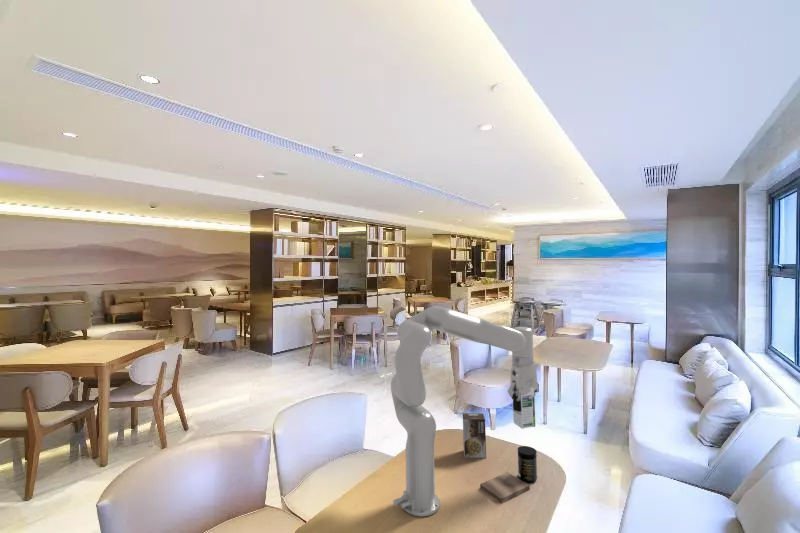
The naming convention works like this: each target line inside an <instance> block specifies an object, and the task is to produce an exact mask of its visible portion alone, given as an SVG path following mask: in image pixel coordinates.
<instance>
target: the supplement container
mask: <svg viewBox="0 0 800 533" xmlns="http://www.w3.org/2000/svg"><path fill="white" fill-rule="evenodd" d="M537 460H538V454H537V450H536V449H535V448H534V447H531V446H527V445H521V446H519V447H517V476H518V477H517V478H518V479H520V480H522V481H523V482H525V483H527V484H533V483H536V482H537V480H538V463H537V462H538V461H537Z"/></svg>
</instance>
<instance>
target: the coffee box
mask: <svg viewBox="0 0 800 533" xmlns="http://www.w3.org/2000/svg"><path fill="white" fill-rule="evenodd" d="M486 435H487V434H486V418H485V415H484V413H480V412H479V413H473V412H470V413H468V412H467V413H466V412H464V413H462V436H463V439H462V440H463V442H462V444H463V445H462V446H463V456H464V458H470V459H471V458H472V459H480V458H481V459H486V458H487V442H486V441H487V440H486V439H487V438H486V437H487V436H486Z"/></svg>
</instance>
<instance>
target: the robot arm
mask: <svg viewBox="0 0 800 533" xmlns="http://www.w3.org/2000/svg"><path fill="white" fill-rule="evenodd" d="M434 330H435V331H438V332H441V333H444V334H447V335H451V336H454V337H456V338H457V337H458V338H462V339H464V340H468V341H471V342H474V343H479V344H485V345H489V346H492V347H495V348H499V349H503V350H506V351H509V352H511V359H512V360H511V362H512V364H511V369H510V385H509V388H508V389H507V393H508V395H509V396H510V397H511V400H512V410H513V409H514V410H516V411H518V412H521V401H520V397H521V396H520V394H525V393H528V392H530V389H531V388H532V387H534V397H536V393H537V390H538V387H539V385H540V384H539V383H538V377H537V376H538V375H537V369H536V364H535V363H534V332H533V330H532V328H531V327H528V326H515V327H507V326H504V325H500V324H498V323H494V322H491V321H488V320H485V319H482V318H480V317H477V316H474V315H471V314H468V313H464V312H461V311H458V310H455V309H452V308H449V307H446V306H438V305H434V306H430V307H428V308H426V309H423V310H422V311H420V312H418V313H417V314H415V315H413V316H410V317H409V318H407V319H405V320H403V321H402V322H401V323H400V324H399V325H398V327H397V330H396V335H397V338H398V341H400V344H399V345H398V347H397V350H396V352H395V353H394V354H395V355H394V368H395V374H394V375H393V377H392V378H391V382H390V391H391V398H392V401H393V406H394V411H395V415H396V418H397V421H398V422H399V424H400V425H401V426H402V427H403V428H404V430H405V431H406V434H407V435H406V436H407V437H406V438H407V439H406V443H405V450H404V451H405V452H404V453H405V490H403V494H402V495H400V497H397V498H395V499H393V501H392V503H393V504H392V505H393V506H394V507H398V506H400V508H401V509H403V510H404V511H405V513H407V514H408V515H411V516H415V517H427V516H431V515H433V514H436V512H437V511H438V510H439V509H440V506H441V505H440V498H439V496H438V495H436V492H435V491H436V490H435V489H436V486H435V485H436V484H435V439H436V433H437V424H436V419H435V418H434V416H433V415H432V413H431V412H430V411H429V410H428V409H426V408H425V407H424V406H422V405H424V403H425V401H426V398H427V389H426V388H427V387H426V385H425V379H424V376H423V370H422V363H421V358H422V356H423V354H424V352H425V350H426V349H427V348H428V347H429V345H430V344H431V343H432V342H431V341H432V338H433V337H432V332H433V331H434ZM516 393H518V395H517V396H516Z"/></svg>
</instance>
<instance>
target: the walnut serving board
mask: <svg viewBox="0 0 800 533" xmlns="http://www.w3.org/2000/svg"><path fill="white" fill-rule="evenodd" d="M479 486H480V488H479V489H480V490H482V491H483V492H484V493H486V494H488V495H489V496H490V497H492V498H493V499H495V500H496V501H497V502H499V503H500V504H503V503H505V502H508V501H510V500H511V499H513V498H517V497H518V496H519V495H522V494H523V493H524V494H525V493H526V492H528V491H530V489H531V488H530V486H531V485H530V484H529V483H526V482H523V481H522V480H520V478H519V477H517V476H515V475H513V474H511V473H510V472H504V473H503V474H500V475H498V476H496V477H493V478H491V479H489V480H486V481H484V482H481V483H480V484H479Z"/></svg>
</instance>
